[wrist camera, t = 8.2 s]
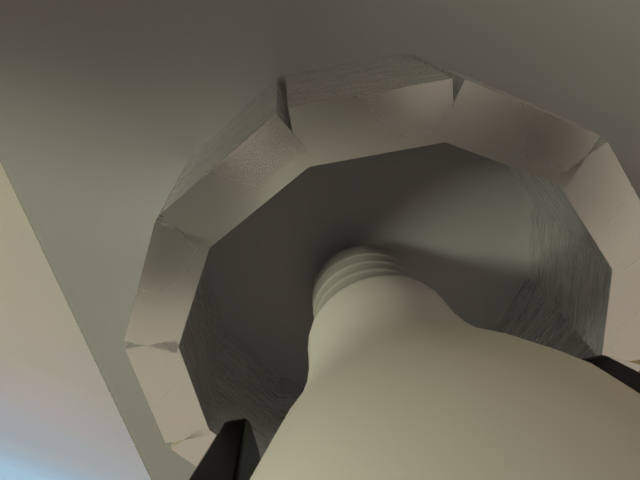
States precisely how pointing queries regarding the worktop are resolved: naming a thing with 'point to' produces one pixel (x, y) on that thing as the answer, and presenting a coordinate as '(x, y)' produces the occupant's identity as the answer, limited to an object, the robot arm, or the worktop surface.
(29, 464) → the worktop surface
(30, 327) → the worktop surface
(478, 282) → the socket plate
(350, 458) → the lightbulb
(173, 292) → the socket collar
